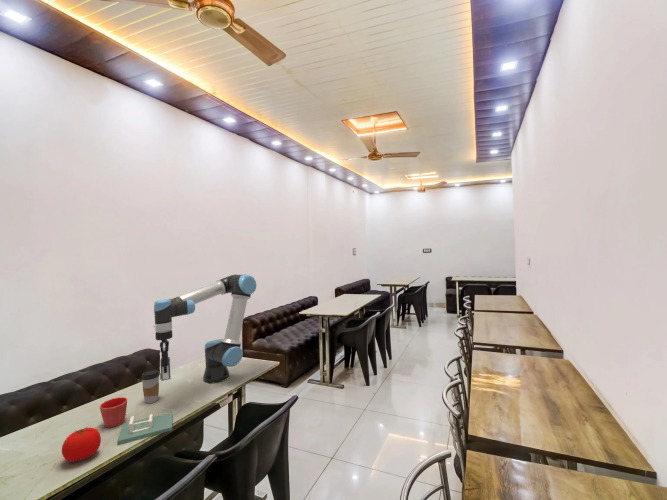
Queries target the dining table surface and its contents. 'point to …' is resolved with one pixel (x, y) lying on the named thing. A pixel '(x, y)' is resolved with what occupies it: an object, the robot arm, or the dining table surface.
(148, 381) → the coffee cup
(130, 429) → the board
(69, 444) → the tomato
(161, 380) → the plug
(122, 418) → the flower pot
